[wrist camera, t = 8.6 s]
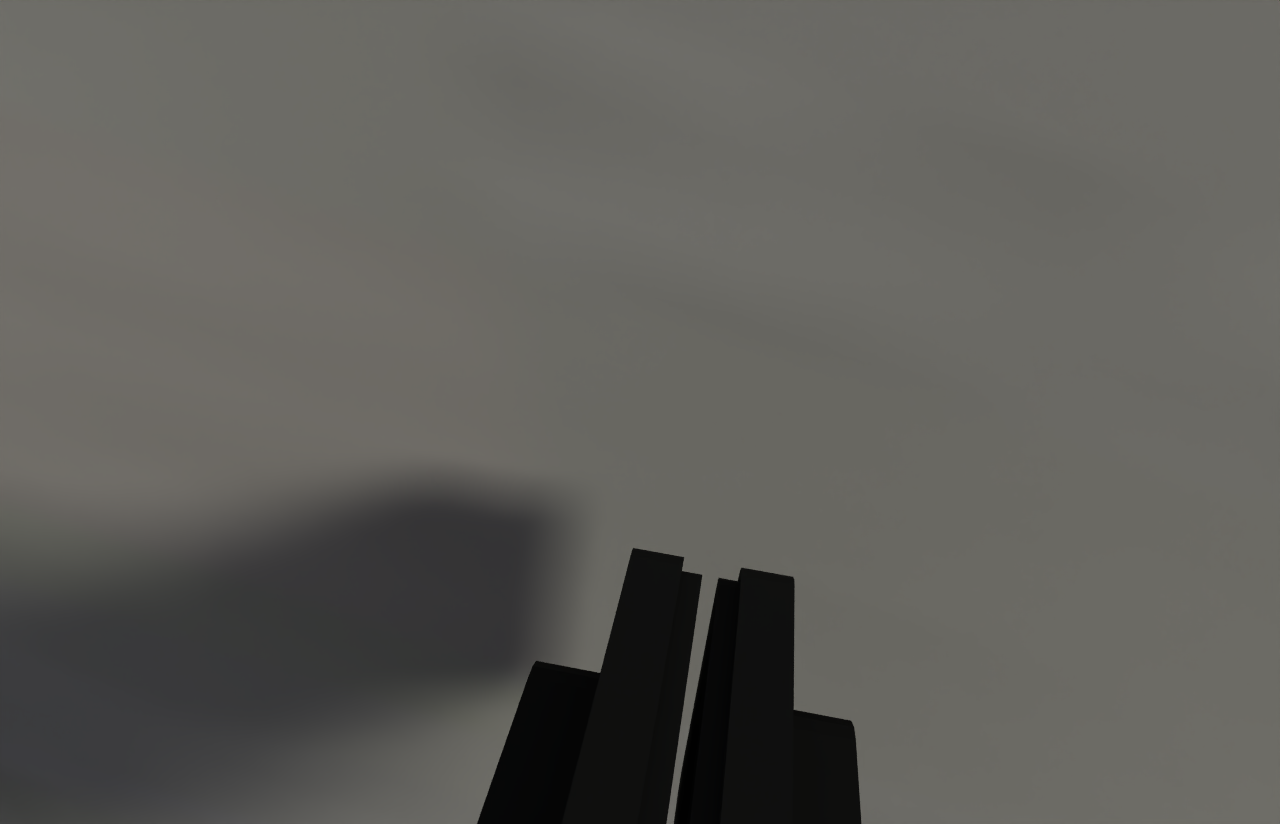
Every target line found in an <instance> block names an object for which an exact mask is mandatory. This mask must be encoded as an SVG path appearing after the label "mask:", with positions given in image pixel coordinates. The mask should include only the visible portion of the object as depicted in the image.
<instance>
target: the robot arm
mask: <svg viewBox="0 0 1280 824" xmlns="http://www.w3.org/2000/svg"><path fill="white" fill-rule="evenodd" d="M683 561H684V557H680V556H674V555H669V554H663V553H658V552H652V551H647V550H641V549H635V548H633V550H632V553H631V556H630V560H629V564H628V568H627V572H626V576H625V580H624V583H623V587H622V591H621V595H620V599H619V603H618V607H617V611H616V615H615V618H614V622H613V626H612V630H611V634H610V638H609V642H608V646H607V649H606V653H605V657H604V661H603V665H602V669H601V673H597V672H592V671H587V670H581V669H576V668H571V667H565V666H560V665H555V664H550V663H544V662H539V661H536V662H535V664H534V665H533V667H532V669H531V672H530V674H529V677H528V679H527V682H526V685H525V688H524V691H523V694H522V697H521V699H520V702H519V705H518V708H517V711H516V714H515V717H514V719H513V722H512V725H511V728H510V731H509V734H508V737H507V739H506V742H505V745H504V748H503V751H502V754H501V757H500V760H499V762H498V765H497V768H496V771H495V774H494V777H493V780H492V782H491V785H490V788H489V791H488V794H487V797H486V800H485V802H484V805H483V808H482V811H481V814H480V817H479V820H478V823H477V824H666V822H667V815H668V809H669V802H670V795H671V788H672V781H673V774H674V767H675V760H676V753H677V746H678V739H679V732H680V725H681V719H682V712H683V705H684V698H685V691H686V684H687V677H688V670H689V663H690V656H691V649H692V642H693V635H694V629H695V622H696V615H697V608H698V601H699V594H700V587H701V580H702V575H700V574H695V573H689V572H684V571H682V567H683ZM674 824H861V811H860V796H859V781H858V766H857V751H856V738H855V731H854V726H853V724H852V722H851V721H850V720H844V719H839V718H834V717H829V716H823V715H818V714H813V713H807V712H802V711H797V710H794V578H793V577H790V576H785V575H779V574H774V573H768V572H763V571H757V570H752V569H746V568H741V570H740V574H739V578H738V581H733V580H728V579H722V578H719V579H718V583H717V588H716V593H715V598H714V603H713V609H712V614H711V619H710V624H709V630H708V635H707V640H706V645H705V650H704V656H703V661H702V666H701V671H700V677H699V682H698V687H697V692H696V698H695V703H694V708H693V713H692V719H691V724H690V729H689V734H688V740H687V745H686V750H685V755H684V761H683V766H682V772H681V778H680V784H679V790H678V797H677V804H676V811H675V819H674Z"/></svg>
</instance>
